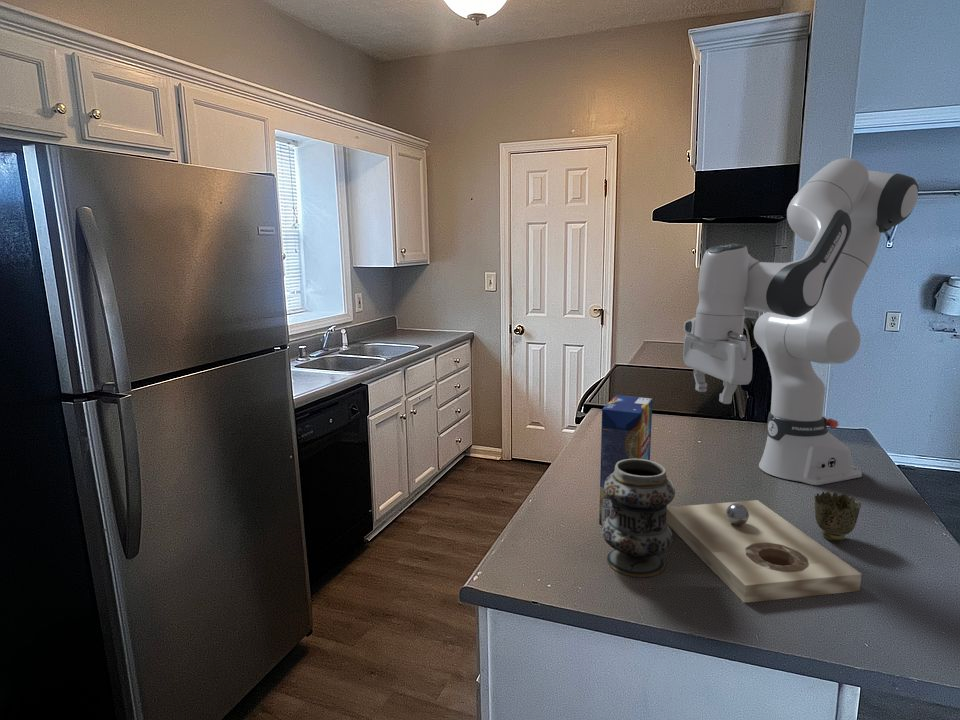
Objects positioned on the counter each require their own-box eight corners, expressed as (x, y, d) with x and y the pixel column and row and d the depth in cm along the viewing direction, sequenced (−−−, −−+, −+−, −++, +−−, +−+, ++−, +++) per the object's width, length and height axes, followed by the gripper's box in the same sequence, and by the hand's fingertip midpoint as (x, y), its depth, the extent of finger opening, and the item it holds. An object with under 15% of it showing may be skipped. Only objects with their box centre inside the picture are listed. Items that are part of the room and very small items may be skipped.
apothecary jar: (685, 574, 100) (691, 475, 96) (622, 587, 96) (626, 484, 93) (646, 541, 111) (650, 451, 108) (588, 551, 108) (590, 458, 104)
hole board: (756, 513, 121) (757, 500, 121) (859, 590, 94) (861, 574, 94) (664, 521, 119) (665, 507, 118) (743, 602, 92) (745, 585, 91)
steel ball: (740, 518, 113) (741, 499, 112) (752, 528, 109) (754, 508, 108) (721, 520, 113) (722, 500, 112) (732, 529, 109) (734, 509, 108)
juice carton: (636, 531, 115) (641, 413, 110) (599, 523, 118) (601, 409, 114) (648, 506, 125) (652, 398, 121) (613, 500, 129) (616, 394, 124)
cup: (803, 529, 115) (806, 490, 113) (841, 529, 114) (845, 490, 113) (823, 548, 107) (828, 508, 106) (865, 548, 107) (869, 507, 106)
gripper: (765, 335, 105) (757, 410, 107) (707, 322, 125) (702, 385, 127) (732, 336, 104) (725, 411, 107) (679, 322, 124) (674, 385, 127)
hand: (712, 396), depth 117 cm, fingers open, 8 cm apart
